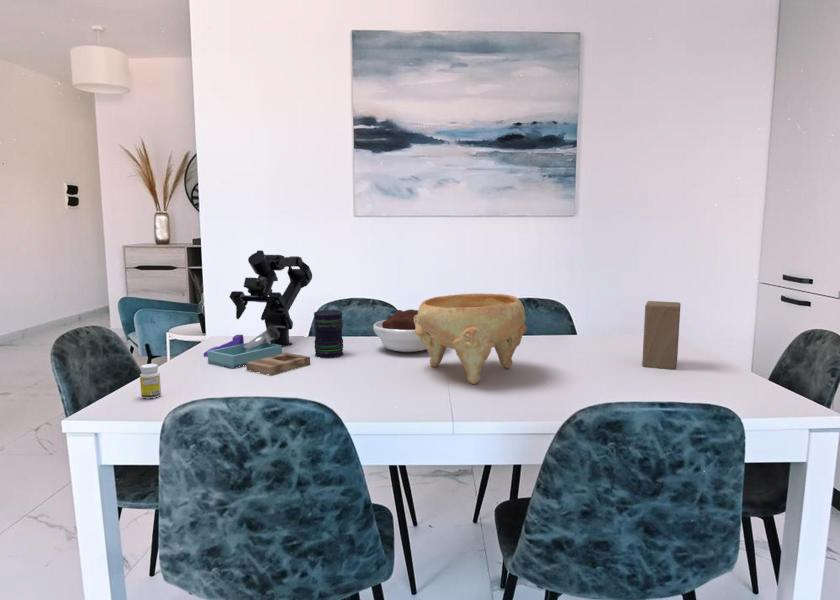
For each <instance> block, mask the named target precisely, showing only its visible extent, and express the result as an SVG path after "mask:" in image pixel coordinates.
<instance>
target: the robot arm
mask: <svg viewBox="0 0 840 600" xmlns="http://www.w3.org/2000/svg"><path fill="white" fill-rule="evenodd" d="M247 262H248V264H249V265H250V267H251V268H252V271H253V272H254V273H255V275H258V276H257V277H245V278H244V282H243V288H246V289H247V293H248V294H247V295H246V294H245V293H244V291H238V290H234V291H231V292H230V294H229V299H230V301H232V303H233V304H234V305H235V307H236V309H235V312H236V313H235V317H236V320H239V319H240V318H241V317H242V315H243V314H244V312H245V310H246V308H247V307H246V306H247V305H248V302H252V303H253V302H255V303H265V304H266V305H265V306H264V309H263V312H262V314H261V318H260V320H261V321H264V324H265V328H267V327H269V326H270V325H273V326H275V327H276V328H277V329H278V331H279V333H280V337H279V338H277V339H276V340H272V341H270V342H269V343H271V344H277V345H282V347H284V346H283V345H286V346H289V345H288V344H290V345H292V344H293V342H290V332H289V331H290V330H292V329H293V326H294V321H293V320H292V318H291V316H290V313H289V311H290V310H291V308H292V306H293V304H294V302H295V300H296V298H297V296H298V295H299V293H300V292H301V290H302V289H303V288H306V287H307V286H308V285H309V284H310V282H311V281H312V279H313V272H312V270H311V268H310V266H309V264H306V262H304V261H303V258H302V257H301V256H298V255H297V256H295V255H293V256H284V255H281V254H265V252H264V250H258V249H257V250H256V252H254V253H252V254H250V256H248V259H247ZM293 267H295V268H293ZM296 267H297V268H296ZM286 268H288V269H287V275H288V277H289V281H290V282H289V284H288V285H287V287H286V288H285V290H284V292H283V294H282V293H281V292H274V291H273V289H272V288H273V285H274V283H275V282H278V277H277V273H276V272H275V271H278V272H279V271H283V270H285V269H286Z"/></svg>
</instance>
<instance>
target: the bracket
mask: <svg viewBox="0 0 840 600" xmlns="http://www.w3.org/2000/svg"><path fill="white" fill-rule="evenodd" d="M244 340H245V339H244V334H235V335H234V336H233V337H232V340H231V341H228V342H227V343H223V344H221V345H219V346H214V347H211V348H209V349H208V350H206V351H204V352H203V358H204V357H205V358H208V351H211V350H216V349H221V348H226V347H230V346H235V345H240V344H245V342H244Z"/></svg>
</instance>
